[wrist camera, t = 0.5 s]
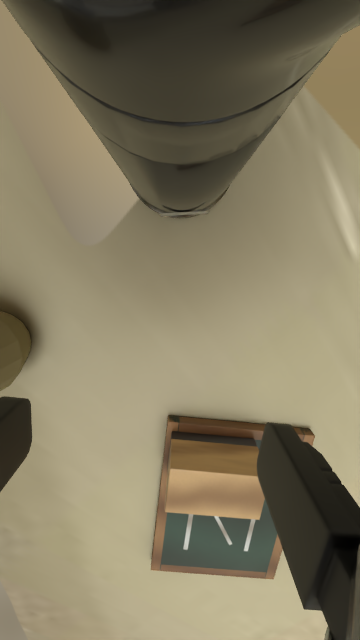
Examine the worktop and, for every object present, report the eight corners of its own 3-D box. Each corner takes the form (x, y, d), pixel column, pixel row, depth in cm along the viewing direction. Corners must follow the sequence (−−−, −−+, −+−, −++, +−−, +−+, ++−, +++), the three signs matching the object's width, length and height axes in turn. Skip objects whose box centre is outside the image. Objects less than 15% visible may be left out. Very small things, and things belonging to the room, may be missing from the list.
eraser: (171, 430, 27) (170, 468, 23) (254, 438, 28) (270, 477, 23) (166, 468, 29) (164, 512, 24) (246, 475, 29) (259, 520, 24)
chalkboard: (168, 415, 28) (167, 422, 27) (309, 428, 29) (315, 435, 28) (151, 559, 34) (150, 570, 33) (270, 568, 34) (273, 579, 33)
